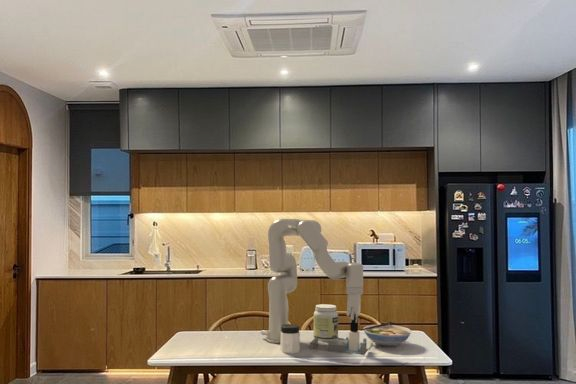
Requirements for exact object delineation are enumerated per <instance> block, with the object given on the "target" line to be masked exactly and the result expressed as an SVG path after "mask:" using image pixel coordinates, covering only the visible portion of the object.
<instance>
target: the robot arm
mask: <svg viewBox="0 0 576 384" xmlns="http://www.w3.org/2000/svg"><path fill="white" fill-rule="evenodd" d="M291 236H293V237H294V236H299V237H301V238H302V240H303V241H304V243H305V244H306V245H307V246H308V247H309V249H311V252H312V253H313V254H314V255H313V256H314V259H315V262H316V263H317V264H316V265H317V266H318V267H319V268H320V269H321V271H322V272H323V273H324V274H325V276H327V277H328V278H329V279H331V280H339V279H343V278H346V279H345V280H346V281H345V282H346V285H345V286H346V291H345V293H346V295H347V301H346V316H347V317H350V326H349V327H350V330H349V332H350V331H351V332H357V331H359V316H360V314H361V307H362V306H361V303H362V302H361V296H362V295H364V265H363V264H362V263H359V262H347V261H335V260H334V259H333V258H332V256H331V255H330V254H329V251H328V245H329V241H328V240H327V239H326V238H325V236H323V234H322V226H321V224H320V223H319V222H318V221H316V220H314V219H310V220H309V219H299V218H279V219H276V220H275V221H273V222H272V223H271V224H270V226H269V227H268V232H267V238H268V255H269V257H268V258H269V259H268V261H269V268H270V270H271V271H272V272H273V273H275V274H278V273H280V275H275V276H273V277H270V279H269V281H268V282H267V292H268V303H269V304H268V306H269V307H268V308H269V309H268V313H269V314H268V317H269V318H268V319H269V320H268V330H264V329H263V330H261V332H260V335H262V336H266V337H265V341H266V342H268V343H273V344H280V338H281V326H282V325H284V324H289V299H288V296H287V294H292V293H293V292H294V291H295V290H296V289H297V286H298V270H297V269H298V267H297V259H296V257H295V256H294V255H293V254H292V253H289V252H287V244H286V240H285V239H284V238H285V237H291Z"/></svg>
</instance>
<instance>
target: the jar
mask: <svg viewBox="0 0 576 384" xmlns="http://www.w3.org/2000/svg"><path fill="white" fill-rule="evenodd" d="M300 336H301V333H300V326H299V324H295V323H288V324H284V325H282V326H281V338H280V343H279V344H280V346H279V347H280V349H279V350H280V352H281V353H285V354H297V353H299V352H300V349H301V348H300V347H301V345H300V341H301V339H300Z"/></svg>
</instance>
